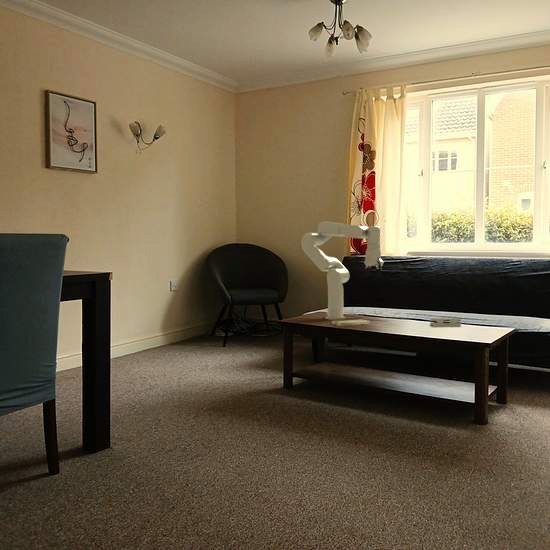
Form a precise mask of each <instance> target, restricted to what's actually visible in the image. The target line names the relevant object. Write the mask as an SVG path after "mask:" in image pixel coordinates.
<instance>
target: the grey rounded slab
mask: <svg viewBox="0 0 550 550" xmlns="http://www.w3.org/2000/svg"><path fill="white" fill-rule="evenodd" d="M461 320H462V319H461V317H459V318H457V317H456V318H450V317H449V318H448V317H447V318H430V319H429V321H430V323H429V324H430V325H429V326H432V327H433V326H434V328H441V327H442V328H447V327H448V328H453V327H454V328H457V327H458V328H459V327H460V326H462V322H461ZM460 328H461V327H460Z"/></svg>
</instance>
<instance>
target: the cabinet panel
mask: <svg viewBox="0 0 550 550" xmlns="http://www.w3.org/2000/svg"><path fill="white" fill-rule="evenodd" d="M331 322H332V325H334V326H337V327H339V326H340V327H347V326H348V327H349V326H350V325H351V326H361V324H364V325H371V324H372V323H371V320H366V319H362V316H356V317H355V316H353V317H352V316H351V317H346V318H333V319H332V320H331ZM351 326H350V327H351Z"/></svg>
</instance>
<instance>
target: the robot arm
mask: <svg viewBox="0 0 550 550" xmlns="http://www.w3.org/2000/svg"><path fill="white" fill-rule="evenodd" d="M332 237H338V238H339V237H340V238H342V237H344V238H353V239H366V242H367V243H366V245H367V246H366V247H367V248H366V250H365V256H364V257H365V259H364V261H363V264H364V267H365V275H366V276H371V274H372V269H371V267H373V266H375V267H376V269H375V276H377V277H379V276H380V277H381V275H382V269H383V268H382V267H383V265H384V261H383V260H382V255H381V227H380V226H379V225H369V226H366V225H355V224H346V223H344V222H332V221H321V222H320V223H319V224H318V225H317V232H306V233H305V234H303V235H302V237H301V241H300V242H301V248H302V250H303V252H304V253H305V255H306V256H307V257H308V258H309V259H310V260H311V261H312V262H313V263H314V265H315V266H317V268H318V269H319V270H320V271H322V272H327V273H326V281H327V312H326V313H325V314H326V315H327V316H325V319H326V320H331V321H332V319H333V318H347V317H346V316H344V285H343V284H345V283H347V282H348V281H349V279H350V272H349V270H348V269H347V268H346V267H345V266H344V265H343V264H342V262H341V261H340V260H338V259H337V258H336V257H334V256H329V255H326V254H325V253H324V252H323V251H322V250H321V249H320V248H319V247H320V246H321V245H323V244H325V243H326V242H327V241H329V240H330V239H331V238H332Z"/></svg>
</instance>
